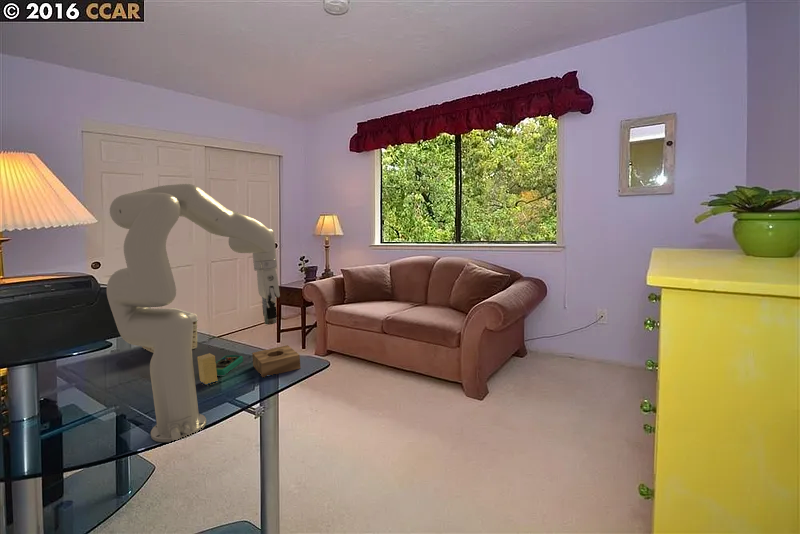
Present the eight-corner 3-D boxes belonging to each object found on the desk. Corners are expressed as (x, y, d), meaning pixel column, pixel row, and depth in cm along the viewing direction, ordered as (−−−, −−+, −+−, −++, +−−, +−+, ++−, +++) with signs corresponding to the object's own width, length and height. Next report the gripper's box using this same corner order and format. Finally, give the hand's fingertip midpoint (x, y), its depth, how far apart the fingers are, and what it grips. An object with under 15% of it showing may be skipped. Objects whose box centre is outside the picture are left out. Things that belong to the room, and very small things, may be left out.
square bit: (217, 381, 135) (214, 355, 134) (205, 386, 132) (202, 359, 131) (212, 378, 138) (209, 353, 136) (200, 382, 135) (197, 356, 133)
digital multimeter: (244, 361, 154) (243, 354, 153) (223, 378, 139) (222, 369, 139) (226, 361, 154) (225, 354, 154) (203, 377, 140) (202, 369, 139)
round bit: (278, 322, 142) (275, 297, 141) (266, 325, 140) (264, 299, 139) (274, 320, 145) (272, 295, 144) (263, 322, 143) (261, 297, 142)
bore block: (300, 368, 144) (299, 354, 143) (262, 377, 137) (261, 363, 136) (288, 357, 155) (287, 345, 154) (253, 366, 148) (252, 352, 147)
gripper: (283, 266, 135) (288, 320, 137) (269, 261, 149) (273, 310, 151) (260, 268, 131) (265, 324, 133) (248, 263, 145) (253, 314, 147)
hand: (270, 316), depth 142 cm, fingers closed on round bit, 4 cm apart
